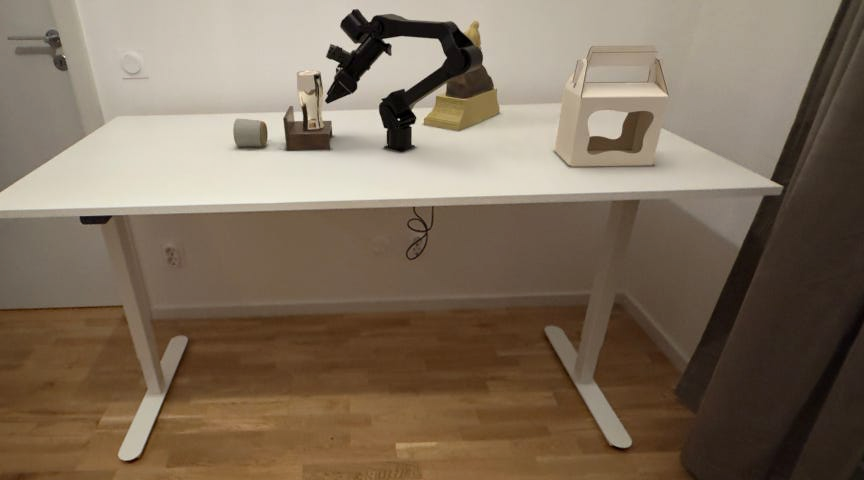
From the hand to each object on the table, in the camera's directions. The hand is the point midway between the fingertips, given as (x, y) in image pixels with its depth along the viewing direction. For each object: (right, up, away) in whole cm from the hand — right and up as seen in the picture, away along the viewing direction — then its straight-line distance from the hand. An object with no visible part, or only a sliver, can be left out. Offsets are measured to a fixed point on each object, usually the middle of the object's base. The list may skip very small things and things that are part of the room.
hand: (326, 98), depth 148 cm
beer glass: (-4, -7, +4) cm, 9 cm away
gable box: (+75, -18, -5) cm, 77 cm away
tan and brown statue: (+42, +3, +31) cm, 52 cm away
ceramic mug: (-22, -12, +6) cm, 26 cm away
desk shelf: (-5, -11, +7) cm, 14 cm away
